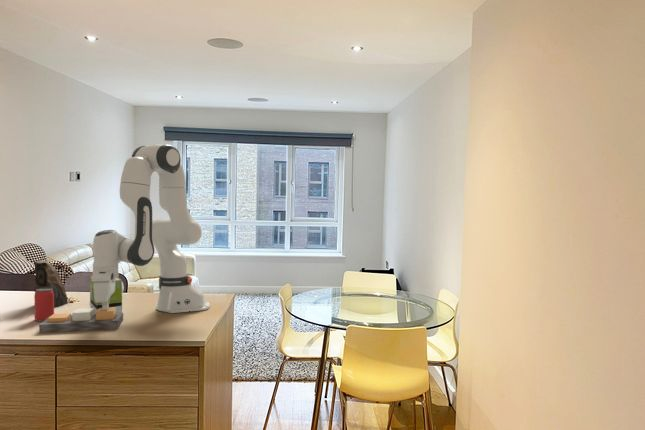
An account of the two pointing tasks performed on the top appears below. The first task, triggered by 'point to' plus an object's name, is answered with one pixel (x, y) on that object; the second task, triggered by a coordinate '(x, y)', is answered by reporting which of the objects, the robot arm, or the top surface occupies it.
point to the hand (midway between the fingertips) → (105, 309)
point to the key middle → (83, 314)
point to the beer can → (44, 303)
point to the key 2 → (106, 313)
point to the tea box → (114, 298)
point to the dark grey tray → (81, 325)
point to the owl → (50, 281)
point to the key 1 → (59, 317)
